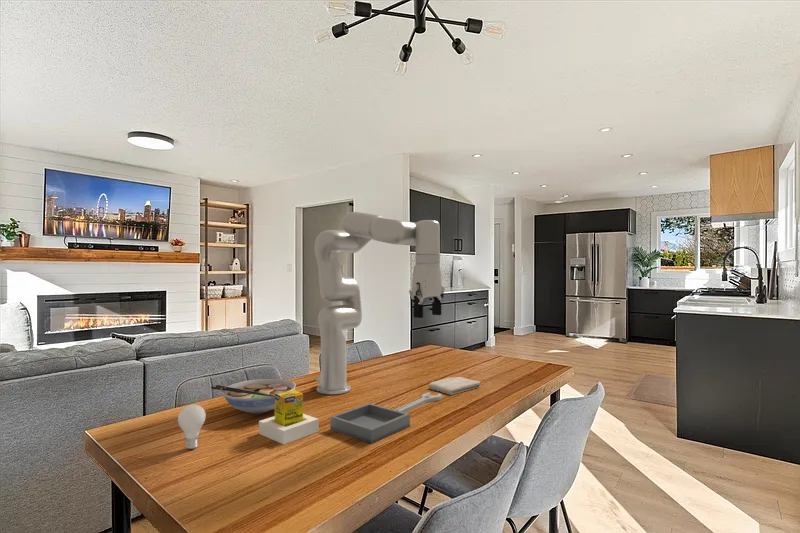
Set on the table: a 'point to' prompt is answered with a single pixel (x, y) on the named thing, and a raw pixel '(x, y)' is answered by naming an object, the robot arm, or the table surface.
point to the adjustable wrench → (419, 402)
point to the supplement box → (288, 408)
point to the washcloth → (454, 385)
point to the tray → (370, 422)
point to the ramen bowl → (255, 394)
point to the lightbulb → (191, 423)
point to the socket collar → (288, 429)
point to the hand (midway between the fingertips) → (427, 316)
